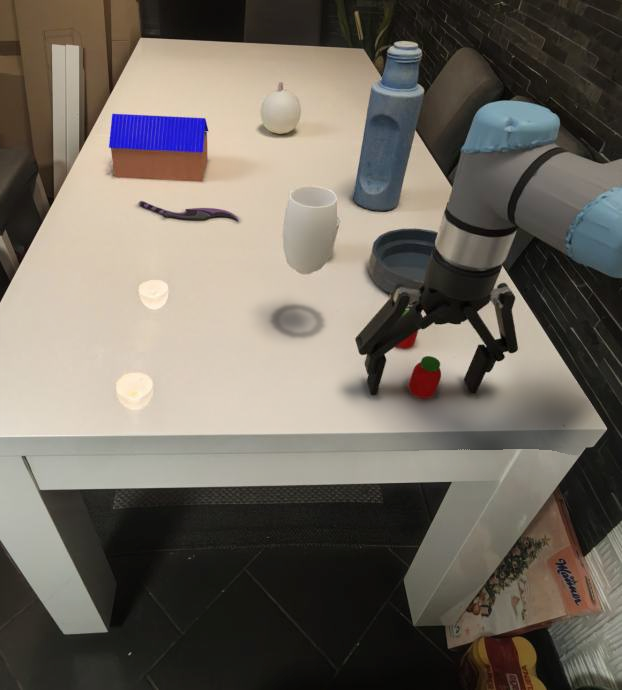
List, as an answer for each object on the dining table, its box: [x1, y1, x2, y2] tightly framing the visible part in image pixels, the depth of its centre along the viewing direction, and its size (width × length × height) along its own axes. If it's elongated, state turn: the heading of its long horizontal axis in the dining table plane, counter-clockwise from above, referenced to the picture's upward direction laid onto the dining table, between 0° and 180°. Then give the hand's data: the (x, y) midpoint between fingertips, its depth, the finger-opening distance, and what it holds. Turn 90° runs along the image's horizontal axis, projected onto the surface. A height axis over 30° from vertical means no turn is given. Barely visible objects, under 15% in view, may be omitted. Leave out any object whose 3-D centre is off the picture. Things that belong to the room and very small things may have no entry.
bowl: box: [367, 228, 438, 303], centre depth 93 cm, size 17×17×4 cm
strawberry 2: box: [407, 355, 442, 399], centre depth 73 cm, size 4×4×5 cm
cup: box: [282, 185, 338, 275], centre depth 78 cm, size 7×7×21 cm
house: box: [108, 113, 209, 182], centre depth 121 cm, size 12×20×12 cm, turn 87°
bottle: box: [352, 40, 425, 212], centre depth 106 cm, size 10×10×30 cm
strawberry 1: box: [395, 309, 419, 350], centre depth 80 cm, size 4×4×5 cm
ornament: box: [260, 81, 302, 135], centre depth 140 cm, size 10×10×12 cm
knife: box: [138, 200, 239, 222], centre depth 109 cm, size 21×1×5 cm
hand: (420, 387), depth 74 cm, fingers open, 13 cm apart
